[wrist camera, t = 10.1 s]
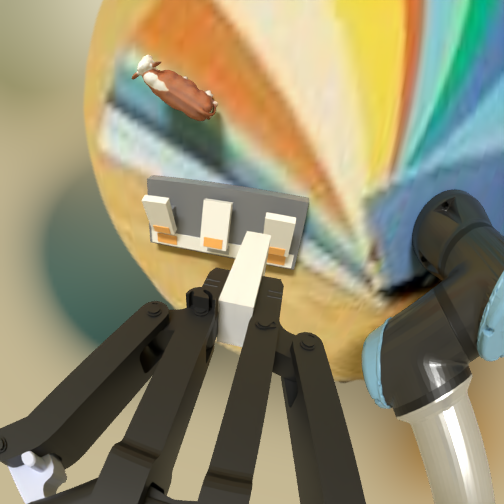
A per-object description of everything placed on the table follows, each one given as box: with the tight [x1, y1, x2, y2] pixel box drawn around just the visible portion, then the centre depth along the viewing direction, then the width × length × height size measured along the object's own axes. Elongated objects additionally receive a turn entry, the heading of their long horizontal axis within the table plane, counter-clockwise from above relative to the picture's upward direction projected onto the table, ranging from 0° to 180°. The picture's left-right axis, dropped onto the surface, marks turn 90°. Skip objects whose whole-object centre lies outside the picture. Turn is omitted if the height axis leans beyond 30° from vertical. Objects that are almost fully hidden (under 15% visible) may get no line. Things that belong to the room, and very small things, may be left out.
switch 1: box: [142, 195, 177, 235], centre depth 40 cm, size 4×7×1 cm
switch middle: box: [200, 198, 233, 251], centre depth 40 cm, size 4×7×1 cm, turn 172°
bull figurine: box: [132, 55, 218, 121], centre depth 31 cm, size 4×13×8 cm, turn 45°
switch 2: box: [263, 212, 296, 257], centre depth 39 cm, size 4×7×1 cm, turn 172°
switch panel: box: [147, 175, 309, 270], centre depth 43 cm, size 25×12×4 cm, turn 82°
